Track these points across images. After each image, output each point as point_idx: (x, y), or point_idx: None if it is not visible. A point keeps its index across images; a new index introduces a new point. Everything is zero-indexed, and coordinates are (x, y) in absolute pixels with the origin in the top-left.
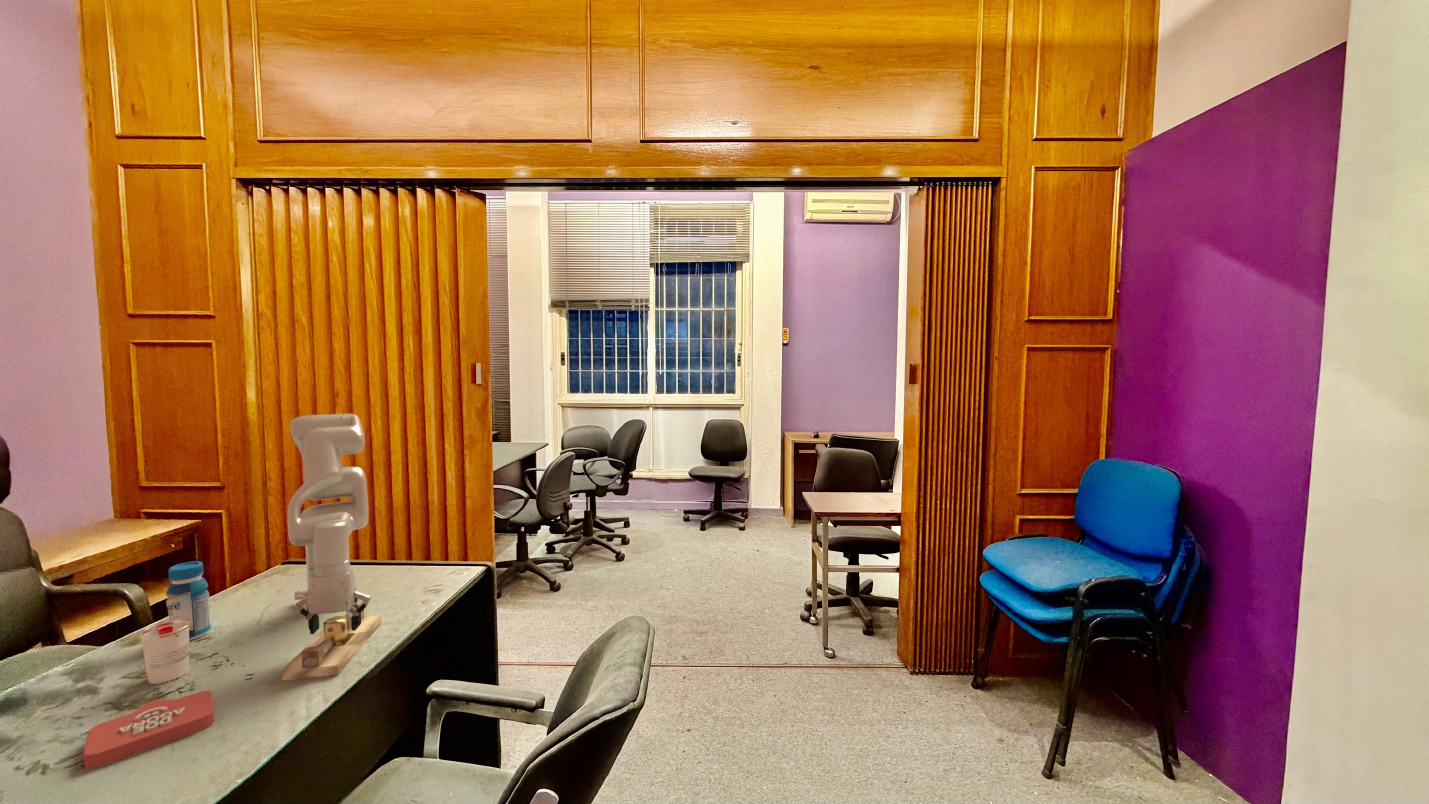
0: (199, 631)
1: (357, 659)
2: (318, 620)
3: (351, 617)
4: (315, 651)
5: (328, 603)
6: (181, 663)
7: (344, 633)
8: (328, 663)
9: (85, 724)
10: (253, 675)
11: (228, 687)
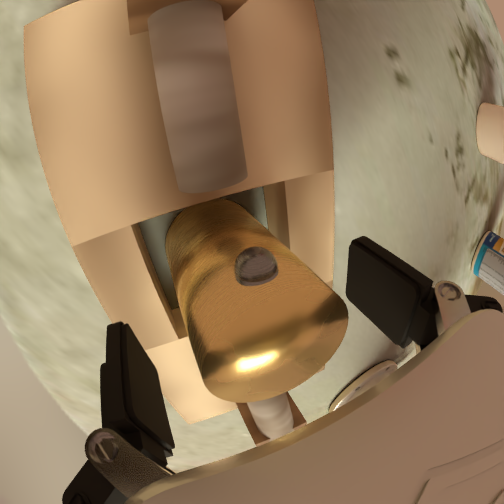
0: (484, 251)
1: (37, 177)
2: (378, 321)
3: (133, 412)
4: None
5: (445, 493)
6: (499, 125)
7: (178, 299)
8: (84, 23)
9: (478, 15)
10: (392, 69)
11: (406, 25)
